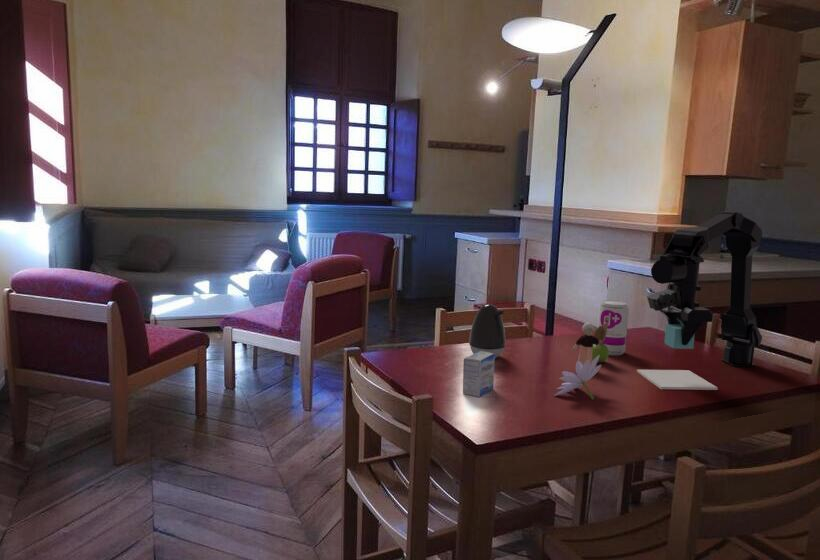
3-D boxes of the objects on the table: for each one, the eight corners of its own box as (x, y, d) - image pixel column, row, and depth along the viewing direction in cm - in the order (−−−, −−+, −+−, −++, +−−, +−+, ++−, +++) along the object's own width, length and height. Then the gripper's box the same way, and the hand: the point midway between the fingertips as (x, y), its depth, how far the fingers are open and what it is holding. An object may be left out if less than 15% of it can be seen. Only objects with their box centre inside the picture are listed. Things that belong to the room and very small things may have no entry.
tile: (688, 372, 159) (688, 370, 159) (717, 389, 145) (717, 387, 145) (636, 371, 158) (637, 369, 158) (660, 389, 145) (661, 386, 145)
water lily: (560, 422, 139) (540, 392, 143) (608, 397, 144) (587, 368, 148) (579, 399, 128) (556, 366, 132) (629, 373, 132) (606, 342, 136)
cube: (683, 343, 153) (685, 324, 152) (693, 348, 148) (695, 329, 147) (664, 343, 153) (665, 324, 152) (673, 348, 148) (675, 328, 147)
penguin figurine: (487, 364, 161) (490, 309, 159) (461, 355, 169) (463, 302, 167) (513, 358, 168) (515, 305, 166) (486, 350, 176) (488, 299, 174)
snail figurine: (613, 361, 168) (616, 319, 166) (602, 366, 163) (606, 323, 161) (595, 357, 171) (598, 316, 169) (584, 361, 167) (587, 319, 165)
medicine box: (479, 398, 135) (481, 360, 134) (461, 394, 138) (463, 357, 136) (493, 388, 142) (495, 353, 141) (476, 385, 144) (478, 350, 143)
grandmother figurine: (578, 372, 157) (582, 324, 155) (569, 367, 160) (573, 321, 158) (602, 369, 160) (606, 323, 158) (593, 365, 163) (596, 320, 161)
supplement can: (619, 357, 172) (623, 306, 169) (591, 352, 177) (595, 302, 174) (628, 352, 178) (632, 302, 176) (601, 347, 183) (605, 299, 181)
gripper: (637, 274, 157) (632, 332, 159) (671, 286, 139) (664, 351, 141) (679, 275, 157) (673, 333, 160) (717, 287, 139) (711, 352, 141)
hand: (679, 342), depth 150 cm, fingers closed on cube, 5 cm apart
